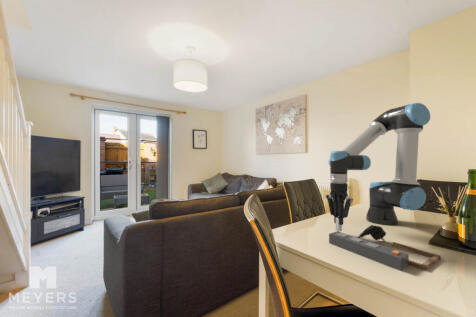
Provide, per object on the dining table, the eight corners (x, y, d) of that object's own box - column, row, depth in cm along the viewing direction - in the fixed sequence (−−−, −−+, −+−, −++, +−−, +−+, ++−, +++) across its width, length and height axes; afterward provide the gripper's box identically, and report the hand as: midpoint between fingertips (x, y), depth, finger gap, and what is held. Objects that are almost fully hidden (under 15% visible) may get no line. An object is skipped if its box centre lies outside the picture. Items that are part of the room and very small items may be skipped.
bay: (394, 245, 86) (394, 242, 86) (440, 260, 74) (440, 255, 74) (376, 253, 79) (376, 249, 79) (424, 271, 67) (424, 266, 67)
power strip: (337, 240, 92) (337, 230, 92) (408, 266, 70) (408, 252, 70) (329, 242, 89) (329, 232, 89) (400, 270, 67) (400, 256, 67)
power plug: (352, 235, 95) (374, 220, 93) (363, 249, 94) (386, 234, 92) (356, 240, 90) (380, 224, 88) (368, 255, 89) (393, 239, 87)
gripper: (322, 181, 104) (322, 228, 104) (347, 184, 93) (347, 236, 93) (331, 180, 108) (331, 225, 108) (356, 183, 97) (356, 233, 97)
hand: (338, 230), depth 100 cm, fingers closed
